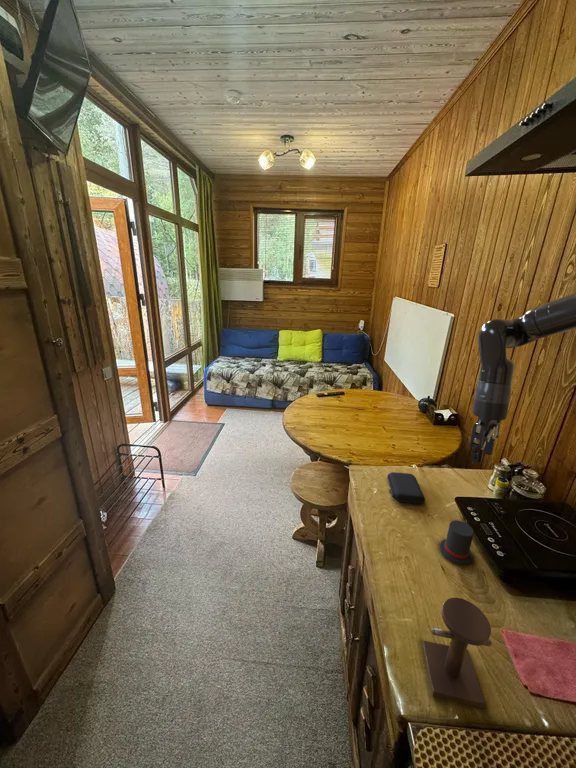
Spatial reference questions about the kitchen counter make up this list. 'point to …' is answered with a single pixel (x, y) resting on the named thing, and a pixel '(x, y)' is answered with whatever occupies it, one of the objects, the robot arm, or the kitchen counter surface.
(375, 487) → the kitchen counter surface
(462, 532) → the hat
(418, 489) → the carrying case
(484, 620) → the coat stand
